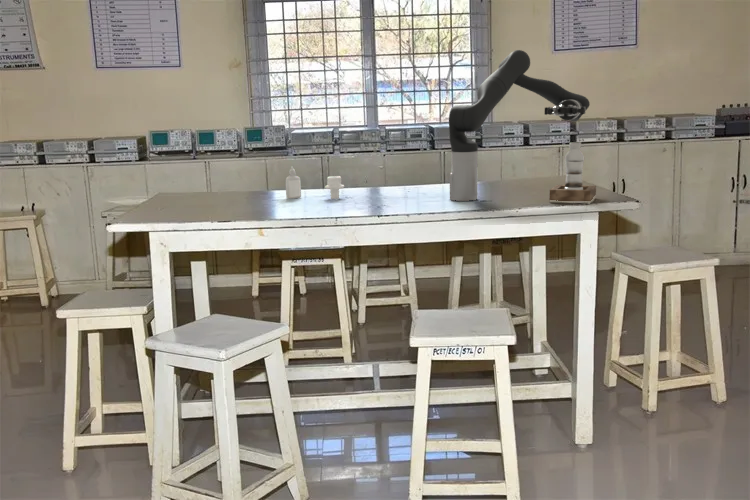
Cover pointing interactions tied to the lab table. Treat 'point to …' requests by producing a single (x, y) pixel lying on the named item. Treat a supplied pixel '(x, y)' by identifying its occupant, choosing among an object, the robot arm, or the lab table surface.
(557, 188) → the wooden square frame
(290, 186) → the eye dropper bottle
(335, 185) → the pipe fitting
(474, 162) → the robot arm
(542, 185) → the lab table surface
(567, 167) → the plastic bottle
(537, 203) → the lab table surface
